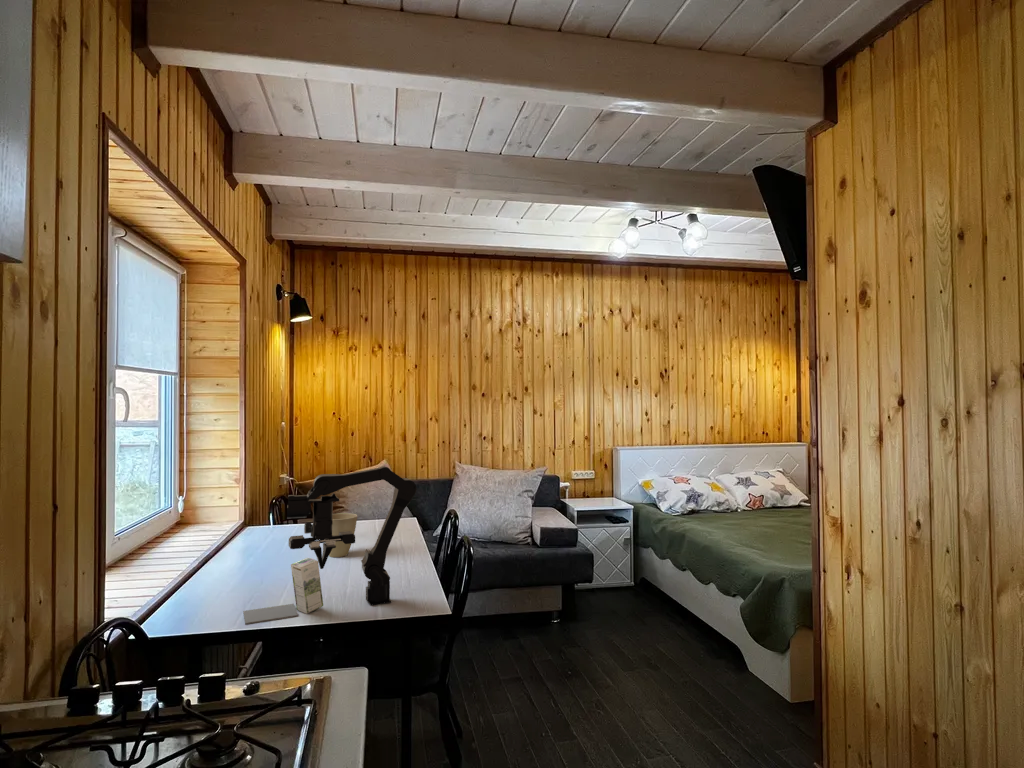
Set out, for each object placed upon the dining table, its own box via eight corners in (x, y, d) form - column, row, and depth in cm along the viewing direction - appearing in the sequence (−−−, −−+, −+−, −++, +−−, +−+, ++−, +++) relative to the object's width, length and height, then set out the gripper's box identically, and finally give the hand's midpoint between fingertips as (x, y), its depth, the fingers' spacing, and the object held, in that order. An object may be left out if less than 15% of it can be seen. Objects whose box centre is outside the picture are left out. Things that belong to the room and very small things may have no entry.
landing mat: (293, 604, 179) (293, 603, 179) (298, 616, 169) (298, 614, 169) (243, 612, 172) (243, 610, 172) (245, 624, 163) (245, 623, 163)
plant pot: (364, 554, 240) (364, 515, 240) (331, 561, 229) (331, 521, 230) (344, 549, 250) (345, 511, 251) (312, 555, 239) (312, 516, 240)
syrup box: (313, 602, 178) (307, 556, 177) (324, 606, 175) (318, 559, 173) (296, 610, 174) (289, 563, 173) (307, 614, 170) (300, 566, 169)
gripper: (348, 510, 188) (347, 559, 188) (287, 514, 180) (285, 565, 179) (356, 515, 178) (355, 567, 178) (291, 520, 170) (290, 575, 169)
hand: (321, 568), depth 176 cm, fingers closed
